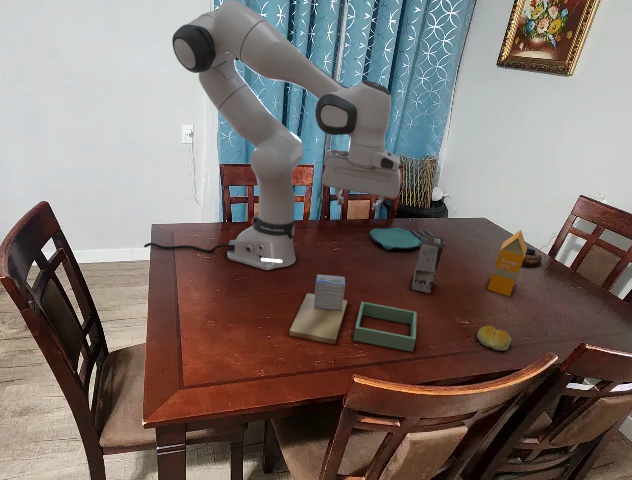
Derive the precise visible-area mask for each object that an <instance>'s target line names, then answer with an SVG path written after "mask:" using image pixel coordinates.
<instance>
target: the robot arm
mask: <svg viewBox="0 0 632 480" xmlns="http://www.w3.org/2000/svg"><path fill="white" fill-rule="evenodd" d="M171 39H172V40H171V41H172V42H171V43H172V49H173V52H174V55H175V57H176V59H177V60H178V62H179V64H180V65H181V66H182V67H183V68H184V69H185V70H187V71H188V72H190V73H193V74H198V82H199V83H200V85H201V87H202V89H203V90H204V93H205V94H206V96H207V97H208V99H209V100H210V102H211V103H212V104H213V106H214V107H215V108H216V110H217V111H218V112H219V114H220V115H221V116H222V117H223V118H224V119H225V121H226V122H227V123H228V125H229V126H230V127H231V129H232V130H233V131H234V132H235V133H236V135H238V136H239V137H241V138H243V139H245V140H246V141H248V142H249V143H250V144H252V145H253V146H254V147H255V148H254V150H253V152H252V153H251V156H250V167H251V170H252V172H253V174H254V175H255V178H256V179H255V180H256V183H257V189H258V211H257V212H255V213H254V216H253V217H252V219H251V226H249V227H248V228H246V229H244V230H242V231H241V232H240V233H239V234H238V235H237V236H236V238H235V239H229V242H228V243H223V244H218V245H216V246H215V245H214V247H213V248H212V249H204V248H201V247H199V246H196V245H189V244H188V245H187V244H186V245H185V244H184V245H172V246H170V245H167V246H166V245H161V244H158V243H154V242H148V243H146V244H144V245H143V248H148V247H150V246H152V247H155V248H159V249H163V250H176V249H193V250H197V251H200V252H204V253H214V252H215V251H216V250H218V249H220V248H227V247H228V250H227V254H226V258H227V259H228V260H230V261H234V262H237V263H240V264H244V265H248V266H251V267H255V268H257V269H261V270H263V271H264V270H265V271H271V270H274V269H278V268H279V269H280V268H286V267H289V266H291V265H293V264H295V262H296V261H297V258H296V253H295V245H294V236H295V233H296V219H295V204H296V194H295V192H294V187H293V178H292V177H293V171H294V169H296V168H297V167H298V166H299V165H300V164H301V162H302V159H303V157H304V152H305V151H304V149H305V148H304V144H303V142H302V140H301V138H300V137H298V136H297V135H296V134H294V133H293V132H291V130H289V129H288V128H287V127H286V126H285V125H284V124H283V123H282V122H281V121H280V120H279V119H278V118H277V117H276V116H275V115H273V114H272V113H271V112H270V111H269V110H268V109H267V107H266V106H265V104H263V102H262V101H261V100H260V98H259V97H258V96H257V94H256V93H255V92H254V91H253V90H252V88H251V87H250V86H249V84H248V83H247V82H246V80H245V79H244V78H243V77H242V76H241V74H240V73H239V71H238V70H237V67H236V61H240V62H241V63H242V64H243V65H245V66H246V67H247V68H248V69H249V70H251V71H252V72H254V73H255V74H257V75H259V76H260V77H262V78H264V79H267V80H271V81H279V82H284V83H289V84H293V85H295V86H299V87H300V88H303V89H304V90H305V91H307V92H308V93H309V94H311V95H312V96H313V97H314V98H316V99H317V102H316V103H315V107H314V118H315V122H316V124H317V126H318V128H319V129H320V130H321V131H322V132H323V133H325V134H327V135H332V136H342V135H343V136H344V135H347V136H349V142H348V143H349V144H348V151H346V150H339V149H335V148H331V149H328V150H327V151H325V153H324V157H323V163H324V169H323V174H322V179H321V182H322V184H323V186H324V187H329V188H334V194H335V196H336V198H337V203H336V204H337V205H338V206H343V205H344V202H345V197H344V196H342V195H341V191H342V190H345V191H349V192H355V193H361V194H366V195H372V196H378V198H377V199H378V201H377V202H376V203H375V202H373V204H372V208H371V212H373V213H374V212H375V213H378V211H379V206H380V205H381V204H382V203H383V202H384V200H385V198H388V199H395V200H396V198H398V196H399V194H400V189H401V170H400V168H399V167H400V164H401V160H400V156H398V155H396V154H395V153H392V152H391V151H389V150H387V149H386V135H387V134H386V133H387V131H388V129H389V125H390V119H391V110H392V94H391V91H390V90H389V89H388V88H387V87H386V86H384V85H382V84H380V83H378V82H375V81H372V80H361V81H360V82H358V84H355V85H354V86H350V87H349V86H346V85H343V84H341V83H340V82H339V81H337V80H336V79H335V78H334V77H332V76H331V75H330V74H328V73H327V72H326V71H324V70H323V69H322V68H321V67H319V66H318V65H316V63H315V62H313V61H311V60H310V59H309V58H308V57H306V55H304V54H303V53H302V52H301V51H300V50H299V49H298V48H297V47H296V46H294V45H293V43H292V42H290V40H289V39H287V38H286V37H285V36H284V35H283V34H282V33H281V32H280V31H279V30H278V29H277V28H276V27H275V26H273V24H272V23H270V22H269V21H268V20H267V19H266V18H264V17H263V16H261V14H259V13H258V12H256V11H255V10H254V9H252V8H250V7H248V6H247V5H245V4H243V3H242V2H240V1H237V0H226V1H224V2H223V3H222V4H220V6H218V8H217V9H215V10H212V11H208V12H205V13H203V14H200V15H199V16H198V17H196V18H194V19H193V20H191V21H190V22H188V23H187V24H183V25H181V26H180V27H179V28H177V30H176V31H175V32H174V33H173V35H172V38H171Z"/></svg>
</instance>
